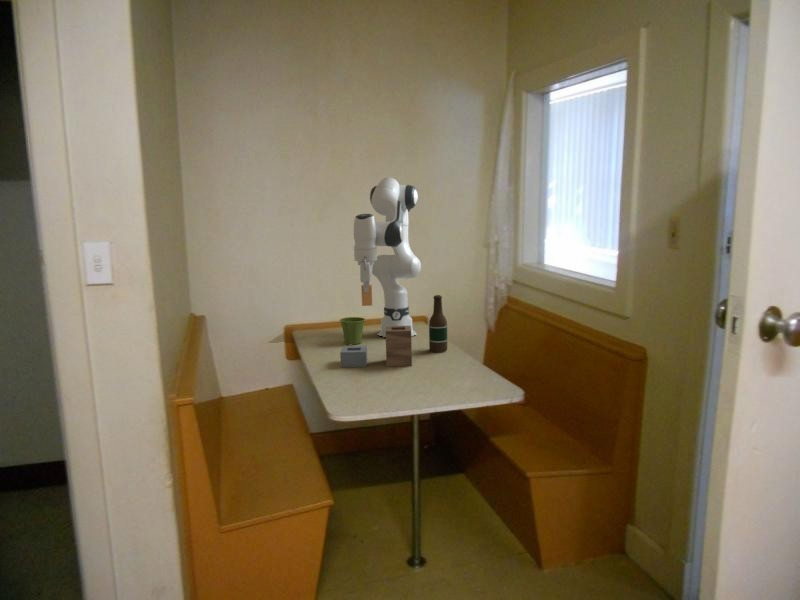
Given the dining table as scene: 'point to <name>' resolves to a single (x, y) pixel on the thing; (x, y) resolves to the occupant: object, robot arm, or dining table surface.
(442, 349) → the beer bottle
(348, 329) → the plant pot
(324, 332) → the dining table surface
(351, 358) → the low socket
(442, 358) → the dining table surface
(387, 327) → the wood block with hole
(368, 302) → the peg
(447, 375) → the dining table surface
